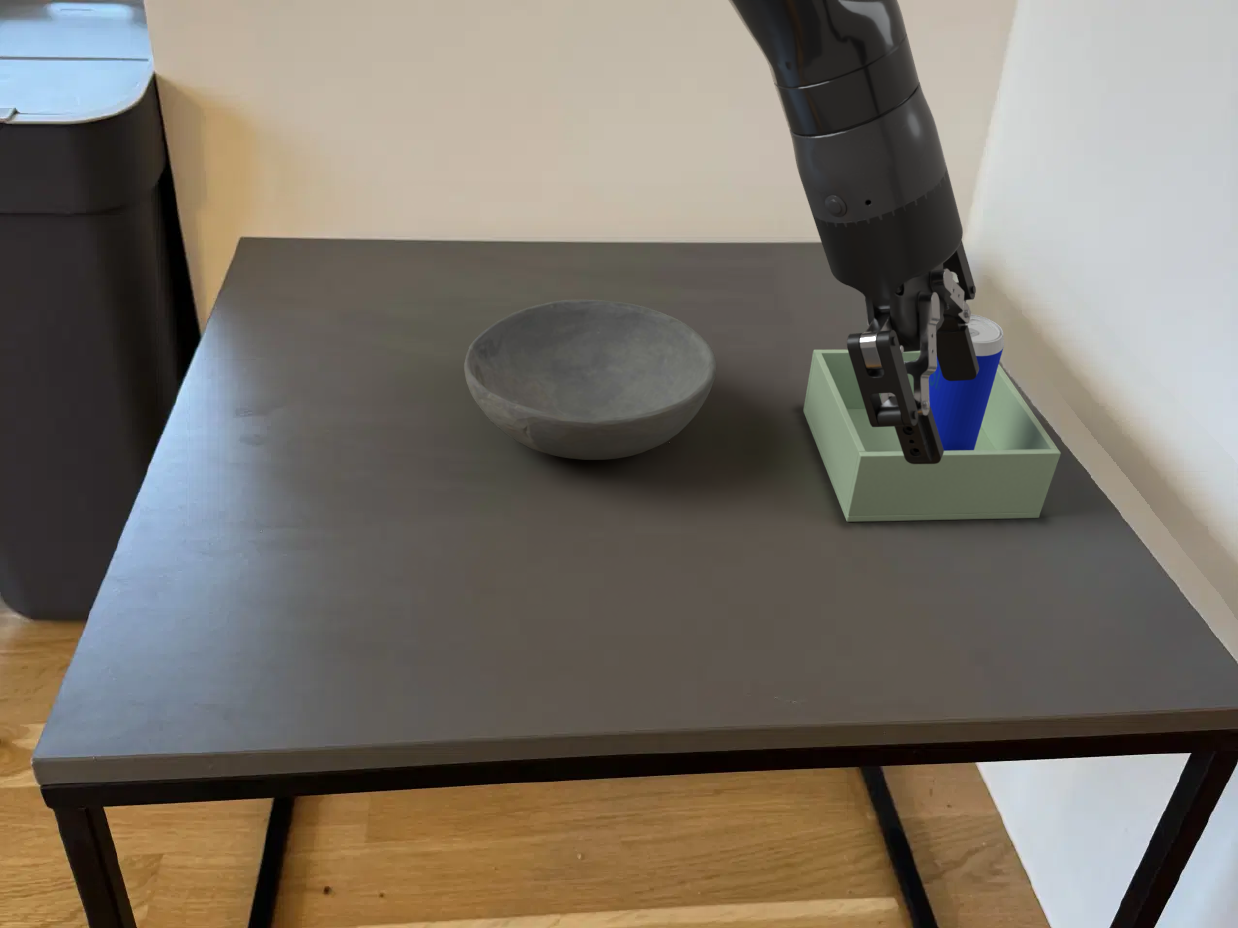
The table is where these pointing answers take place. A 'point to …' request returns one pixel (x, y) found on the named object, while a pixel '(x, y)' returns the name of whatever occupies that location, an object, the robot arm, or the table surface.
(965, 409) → the beverage can
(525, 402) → the bowl
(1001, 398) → the open box
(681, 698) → the table surface
